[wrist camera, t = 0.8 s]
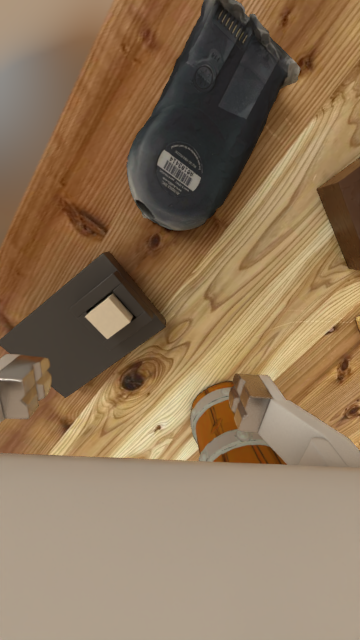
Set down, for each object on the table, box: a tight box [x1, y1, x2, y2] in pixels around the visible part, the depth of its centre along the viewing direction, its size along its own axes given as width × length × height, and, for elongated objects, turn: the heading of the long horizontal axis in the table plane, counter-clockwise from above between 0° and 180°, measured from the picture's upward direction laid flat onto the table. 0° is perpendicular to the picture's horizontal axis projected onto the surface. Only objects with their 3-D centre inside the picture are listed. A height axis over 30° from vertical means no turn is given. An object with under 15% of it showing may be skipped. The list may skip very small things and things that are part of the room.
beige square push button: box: [85, 294, 133, 339], centre depth 21 cm, size 3×3×2 cm
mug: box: [190, 382, 287, 465], centre depth 26 cm, size 11×16×15 cm, turn 8°
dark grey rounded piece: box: [127, 0, 300, 231], centre depth 18 cm, size 9×6×15 cm
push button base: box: [0, 252, 166, 398], centre depth 24 cm, size 16×10×4 cm, turn 126°
